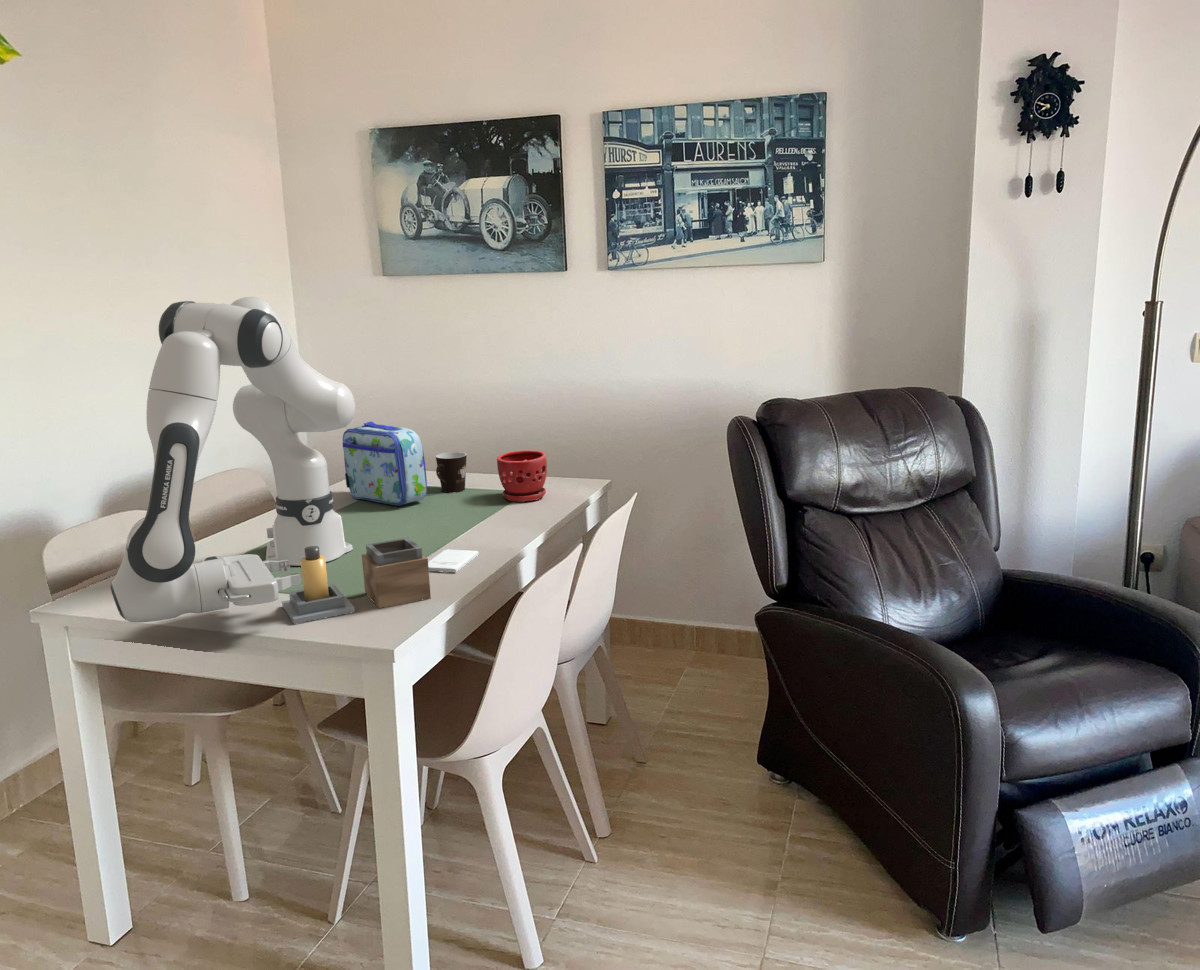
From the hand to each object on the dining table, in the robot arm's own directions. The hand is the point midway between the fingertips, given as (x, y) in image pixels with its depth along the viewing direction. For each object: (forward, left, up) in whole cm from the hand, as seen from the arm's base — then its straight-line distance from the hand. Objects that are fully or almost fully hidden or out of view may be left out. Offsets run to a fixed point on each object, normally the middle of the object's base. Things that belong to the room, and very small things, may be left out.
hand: (294, 571), depth 178 cm
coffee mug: (-76, +57, -8) cm, 95 cm away
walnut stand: (+1, +19, -8) cm, 20 cm away
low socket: (0, +4, -8) cm, 9 cm away
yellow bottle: (0, +4, -7) cm, 8 cm away
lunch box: (-76, +39, -8) cm, 86 cm away
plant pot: (-56, +71, -8) cm, 91 cm away
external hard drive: (-13, +34, -9) cm, 38 cm away
